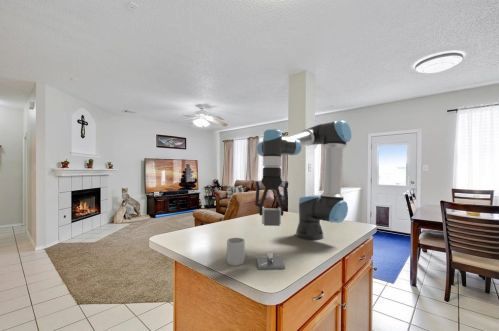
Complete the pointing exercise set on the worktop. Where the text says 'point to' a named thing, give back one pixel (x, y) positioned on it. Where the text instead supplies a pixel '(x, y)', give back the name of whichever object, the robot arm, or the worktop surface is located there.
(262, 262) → the base plate
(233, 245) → the cup
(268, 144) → the robot arm
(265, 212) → the dark grey cube
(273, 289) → the worktop surface
